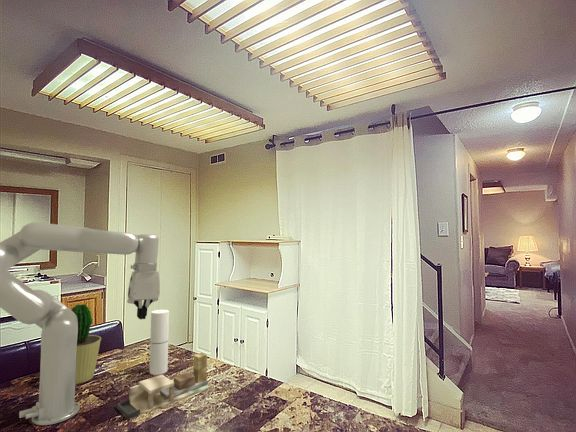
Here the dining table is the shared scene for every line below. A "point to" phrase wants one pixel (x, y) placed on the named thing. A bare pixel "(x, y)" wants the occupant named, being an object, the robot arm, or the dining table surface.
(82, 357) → the potted cactus
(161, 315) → the cylindrical container
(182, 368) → the dining table surface
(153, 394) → the tunnel
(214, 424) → the dining table surface
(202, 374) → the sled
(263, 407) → the dining table surface
